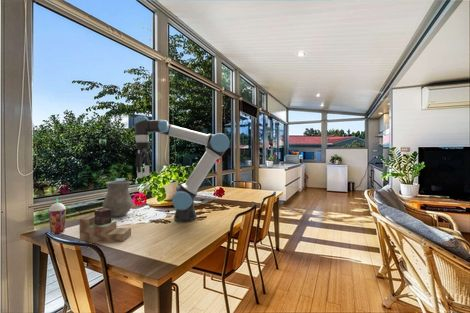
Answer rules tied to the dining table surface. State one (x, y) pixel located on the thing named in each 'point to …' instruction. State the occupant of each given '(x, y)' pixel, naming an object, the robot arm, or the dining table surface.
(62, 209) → the smoothie
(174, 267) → the dining table surface
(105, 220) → the box
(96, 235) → the stepped block
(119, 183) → the vase
